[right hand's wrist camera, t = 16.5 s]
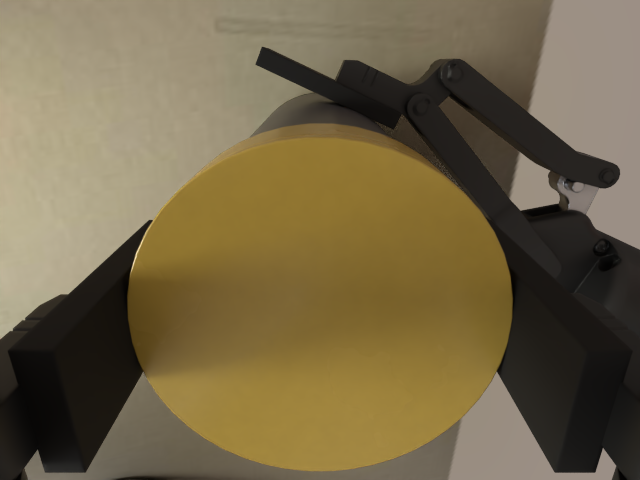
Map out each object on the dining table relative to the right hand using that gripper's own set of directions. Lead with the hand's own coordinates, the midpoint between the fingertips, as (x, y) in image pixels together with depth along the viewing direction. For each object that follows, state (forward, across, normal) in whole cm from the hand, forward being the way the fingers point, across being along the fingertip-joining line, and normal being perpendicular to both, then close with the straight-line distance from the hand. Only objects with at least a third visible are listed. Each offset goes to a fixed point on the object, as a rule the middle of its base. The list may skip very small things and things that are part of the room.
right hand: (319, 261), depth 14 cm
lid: (-3, 0, 0) cm, 3 cm away
